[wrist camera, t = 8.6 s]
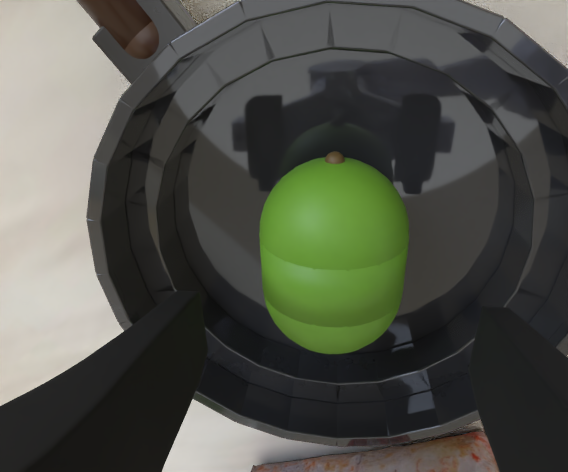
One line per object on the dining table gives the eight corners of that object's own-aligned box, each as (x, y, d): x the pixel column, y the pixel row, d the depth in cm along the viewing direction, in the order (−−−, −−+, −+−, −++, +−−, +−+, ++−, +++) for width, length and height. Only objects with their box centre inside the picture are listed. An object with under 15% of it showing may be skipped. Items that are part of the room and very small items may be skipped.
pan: (666, 93, 14) (778, 122, 10) (427, 412, 21) (444, 492, 18) (184, -92, 13) (124, -131, 9) (116, 306, 20) (68, 367, 17)
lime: (267, 131, 15) (238, 178, 11) (407, 132, 15) (433, 180, 10) (275, 306, 19) (256, 392, 14) (388, 312, 18) (402, 403, 14)
